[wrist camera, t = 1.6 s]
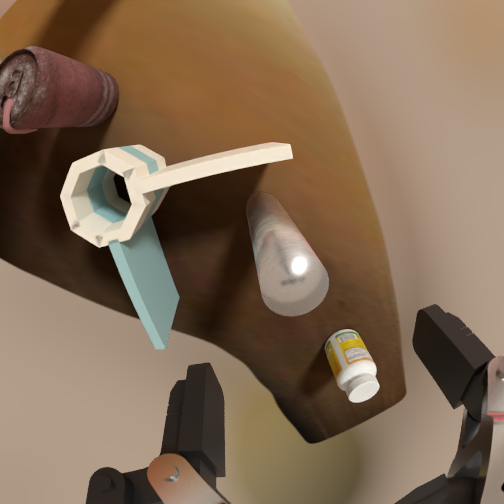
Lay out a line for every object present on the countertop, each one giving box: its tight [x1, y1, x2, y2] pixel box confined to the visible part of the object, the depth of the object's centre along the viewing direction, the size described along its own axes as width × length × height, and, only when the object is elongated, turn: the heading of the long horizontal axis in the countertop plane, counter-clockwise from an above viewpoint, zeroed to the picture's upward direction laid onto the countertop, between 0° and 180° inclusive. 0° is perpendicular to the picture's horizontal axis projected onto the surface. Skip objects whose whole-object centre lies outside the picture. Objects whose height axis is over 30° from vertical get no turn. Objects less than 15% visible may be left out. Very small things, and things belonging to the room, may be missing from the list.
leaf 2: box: [87, 146, 179, 350], centre depth 24 cm, size 18×7×9 cm, turn 12°
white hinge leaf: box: [60, 142, 293, 248], centre depth 22 cm, size 7×18×9 cm, turn 102°
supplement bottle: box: [325, 329, 379, 402], centre depth 33 cm, size 5×5×10 cm
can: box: [0, 46, 119, 134], centre depth 16 cm, size 6×6×14 cm
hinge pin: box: [246, 192, 329, 316], centre depth 21 cm, size 4×4×16 cm
